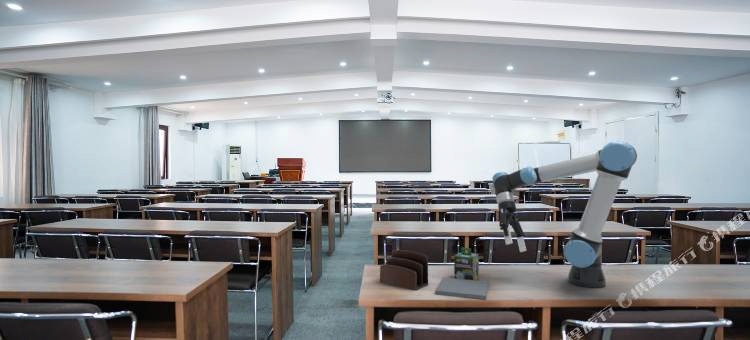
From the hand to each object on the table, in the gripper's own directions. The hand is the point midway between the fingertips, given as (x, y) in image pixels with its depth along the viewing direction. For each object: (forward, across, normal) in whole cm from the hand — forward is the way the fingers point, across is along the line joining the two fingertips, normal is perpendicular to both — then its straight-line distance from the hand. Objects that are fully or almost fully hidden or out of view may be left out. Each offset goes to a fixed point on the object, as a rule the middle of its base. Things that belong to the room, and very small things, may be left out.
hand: (516, 247), depth 174 cm
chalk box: (+8, -1, -27) cm, 28 cm away
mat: (+15, +12, -22) cm, 30 cm away
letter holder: (+10, +23, -45) cm, 52 cm away
